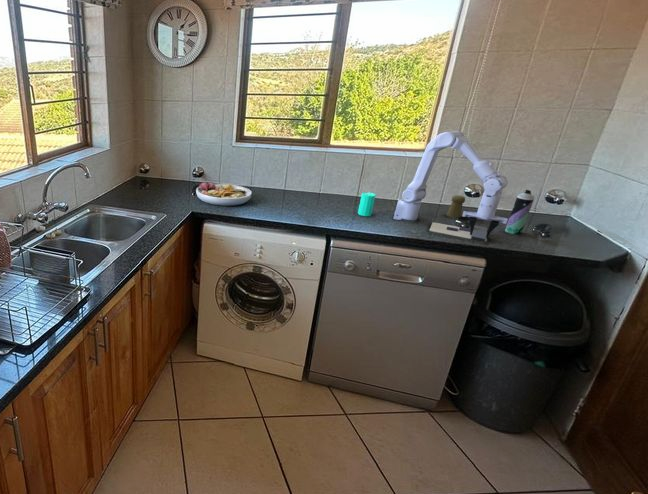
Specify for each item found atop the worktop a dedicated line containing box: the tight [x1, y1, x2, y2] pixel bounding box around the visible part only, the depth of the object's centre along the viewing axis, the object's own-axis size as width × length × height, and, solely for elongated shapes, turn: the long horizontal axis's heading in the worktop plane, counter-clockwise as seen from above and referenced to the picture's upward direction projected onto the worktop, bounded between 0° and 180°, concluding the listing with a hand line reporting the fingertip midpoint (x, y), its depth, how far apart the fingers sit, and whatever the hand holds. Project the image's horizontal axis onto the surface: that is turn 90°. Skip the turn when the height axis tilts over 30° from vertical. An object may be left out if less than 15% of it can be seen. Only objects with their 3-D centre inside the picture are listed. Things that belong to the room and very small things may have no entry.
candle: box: [357, 191, 377, 217], centre depth 198 cm, size 6×6×12 cm
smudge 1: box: [447, 227, 458, 231], centre depth 179 cm, size 4×3×1 cm
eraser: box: [470, 225, 488, 243], centre depth 170 cm, size 9×4×4 cm, turn 141°
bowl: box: [195, 181, 253, 207], centre depth 221 cm, size 30×30×8 cm
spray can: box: [504, 189, 535, 235], centre depth 173 cm, size 6×6×20 cm
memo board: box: [429, 222, 488, 243], centre depth 177 cm, size 20×14×1 cm
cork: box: [445, 194, 466, 219], centre depth 195 cm, size 6×6×11 cm
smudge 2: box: [459, 226, 470, 232], centre depth 178 cm, size 4×3×1 cm
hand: (478, 235), depth 170 cm, fingers closed on eraser, 4 cm apart
